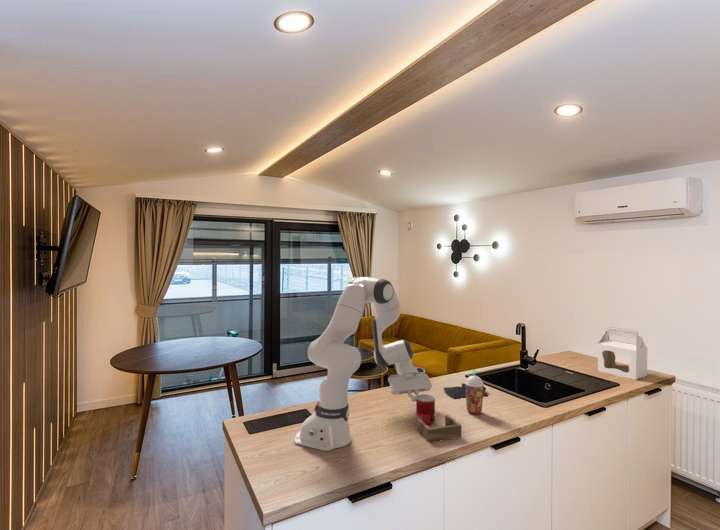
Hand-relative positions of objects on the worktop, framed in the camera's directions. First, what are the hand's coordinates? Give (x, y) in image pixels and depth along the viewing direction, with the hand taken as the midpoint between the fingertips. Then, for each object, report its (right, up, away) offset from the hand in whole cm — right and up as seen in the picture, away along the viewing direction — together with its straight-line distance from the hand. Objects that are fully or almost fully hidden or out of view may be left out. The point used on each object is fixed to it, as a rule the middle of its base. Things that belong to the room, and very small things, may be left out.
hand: (415, 400), depth 178 cm
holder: (+6, -6, -20) cm, 22 cm away
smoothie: (+27, -6, +1) cm, 28 cm away
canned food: (+3, -6, -10) cm, 12 cm away
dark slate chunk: (+30, -6, +26) cm, 41 cm away
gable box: (+136, -5, +59) cm, 149 cm away
